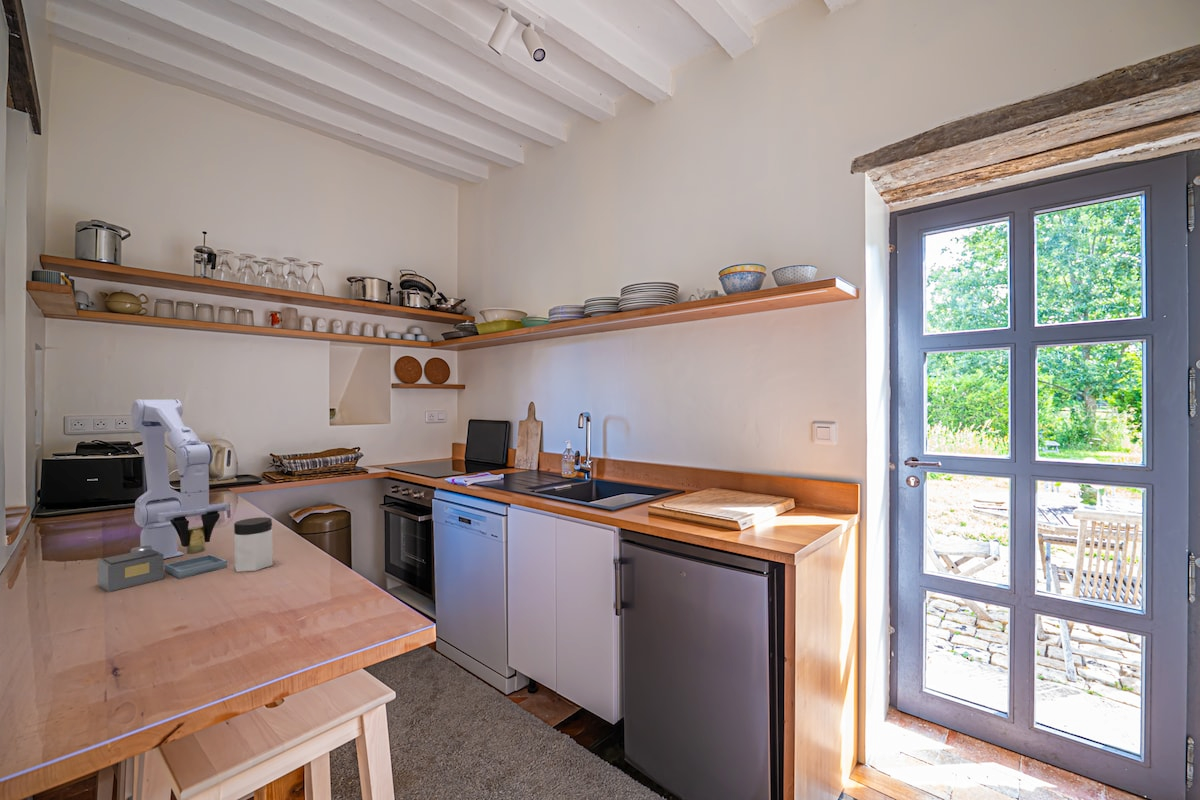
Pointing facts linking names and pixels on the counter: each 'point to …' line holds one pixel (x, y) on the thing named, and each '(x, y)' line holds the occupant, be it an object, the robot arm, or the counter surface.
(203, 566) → the tray
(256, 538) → the jar
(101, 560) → the unit
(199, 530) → the part brass
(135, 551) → the part grey
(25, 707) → the counter surface
